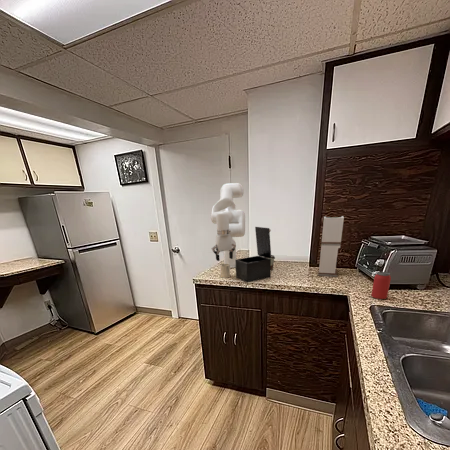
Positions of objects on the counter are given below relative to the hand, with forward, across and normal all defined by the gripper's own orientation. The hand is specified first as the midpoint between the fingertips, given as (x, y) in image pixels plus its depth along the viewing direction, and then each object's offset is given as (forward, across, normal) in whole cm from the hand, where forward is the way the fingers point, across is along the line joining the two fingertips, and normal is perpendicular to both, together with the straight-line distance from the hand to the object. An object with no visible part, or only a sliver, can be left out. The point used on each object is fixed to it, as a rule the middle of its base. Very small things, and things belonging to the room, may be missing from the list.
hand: (224, 259), depth 162 cm
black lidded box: (+12, -14, +12) cm, 22 cm away
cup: (+12, 0, 0) cm, 12 cm away
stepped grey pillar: (+12, -56, +36) cm, 68 cm away
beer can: (+12, -43, +78) cm, 90 cm away
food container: (+12, -32, +2) cm, 34 cm away
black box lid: (-10, -21, +13) cm, 27 cm away
